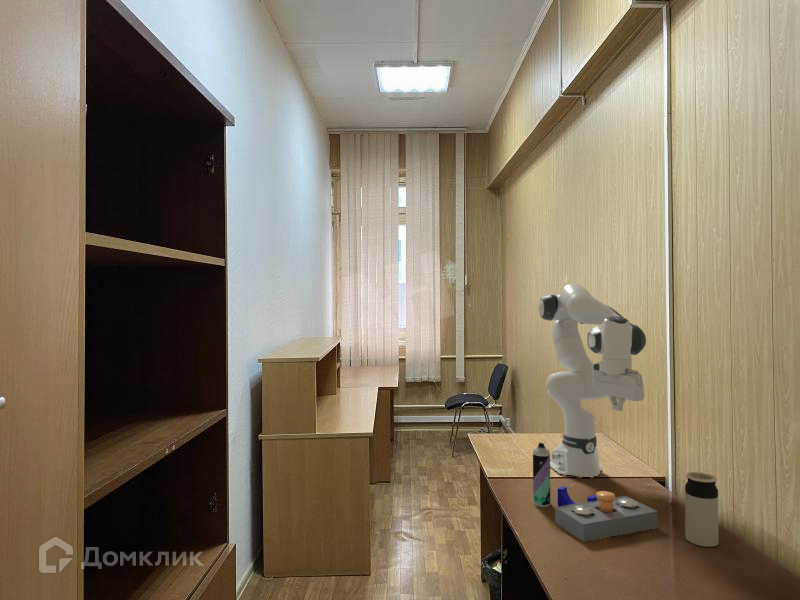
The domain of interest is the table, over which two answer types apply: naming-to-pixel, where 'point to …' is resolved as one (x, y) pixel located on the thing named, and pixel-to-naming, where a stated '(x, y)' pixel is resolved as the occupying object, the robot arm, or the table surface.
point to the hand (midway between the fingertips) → (617, 410)
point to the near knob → (583, 510)
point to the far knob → (627, 503)
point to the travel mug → (701, 509)
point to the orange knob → (605, 501)
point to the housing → (605, 520)
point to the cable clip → (566, 500)
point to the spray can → (541, 476)
